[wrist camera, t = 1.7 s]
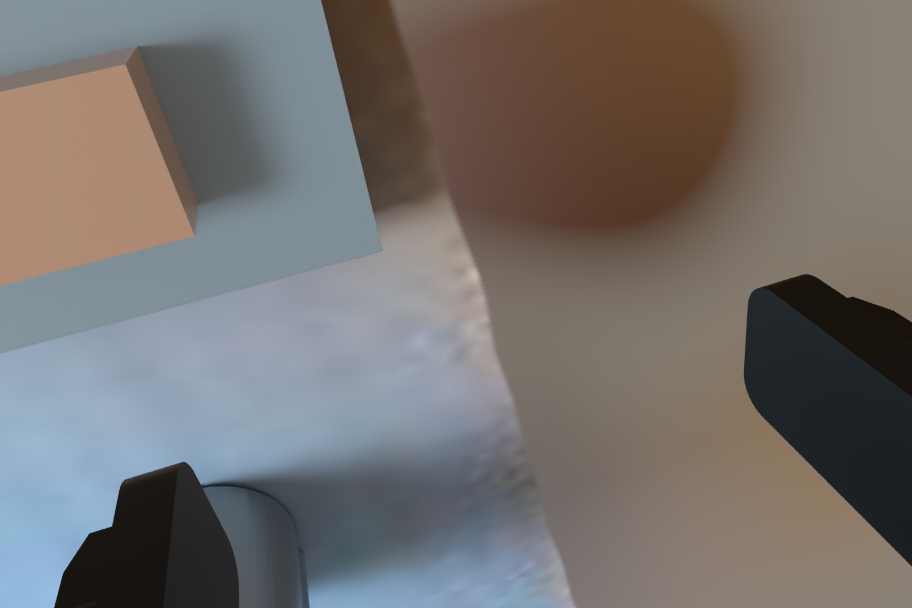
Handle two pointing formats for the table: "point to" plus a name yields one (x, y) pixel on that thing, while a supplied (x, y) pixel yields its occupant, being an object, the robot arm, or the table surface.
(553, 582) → the table surface
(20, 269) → the tan rectangular block
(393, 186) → the table surface
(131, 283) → the block
